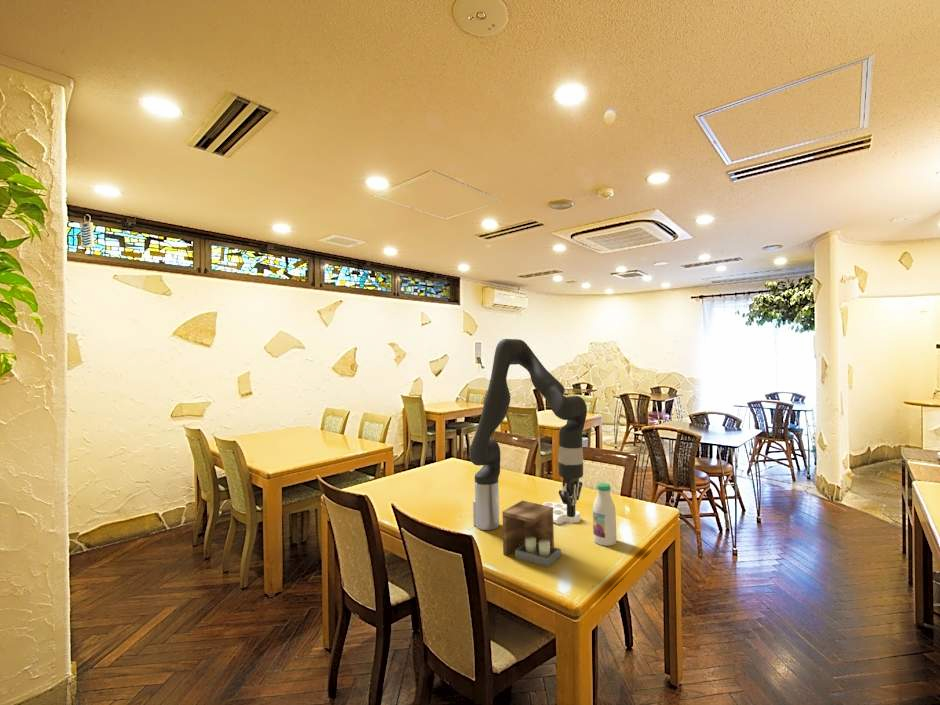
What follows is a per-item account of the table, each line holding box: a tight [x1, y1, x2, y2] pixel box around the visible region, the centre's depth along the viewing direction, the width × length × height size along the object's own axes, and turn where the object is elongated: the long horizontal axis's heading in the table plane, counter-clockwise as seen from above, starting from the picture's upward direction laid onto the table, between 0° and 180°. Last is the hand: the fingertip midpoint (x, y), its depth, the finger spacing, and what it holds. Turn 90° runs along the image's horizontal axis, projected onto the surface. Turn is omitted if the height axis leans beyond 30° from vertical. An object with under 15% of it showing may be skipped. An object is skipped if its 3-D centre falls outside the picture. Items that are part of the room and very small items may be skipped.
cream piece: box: [539, 540, 550, 558], centre depth 135 cm, size 4×4×5 cm
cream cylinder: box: [525, 536, 536, 555], centre depth 138 cm, size 4×4×5 cm
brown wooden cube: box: [502, 500, 555, 556], centre depth 141 cm, size 12×13×14 cm
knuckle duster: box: [542, 501, 581, 525], centre depth 171 cm, size 3×18×15 cm
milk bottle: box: [592, 482, 617, 547], centre depth 147 cm, size 8×8×20 cm
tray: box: [514, 542, 562, 569], centre depth 137 cm, size 12×9×3 cm
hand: (571, 516), depth 130 cm, fingers closed
